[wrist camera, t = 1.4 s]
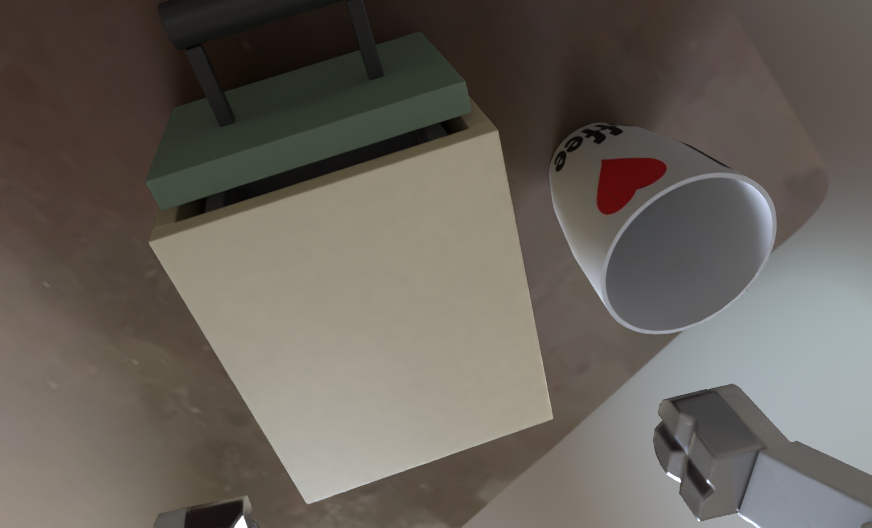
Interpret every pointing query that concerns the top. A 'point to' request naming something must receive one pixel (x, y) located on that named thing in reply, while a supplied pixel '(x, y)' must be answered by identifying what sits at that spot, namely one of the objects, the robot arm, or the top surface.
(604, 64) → the top surface
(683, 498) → the robot arm
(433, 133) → the green drawer
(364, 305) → the drawer box
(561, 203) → the cup
